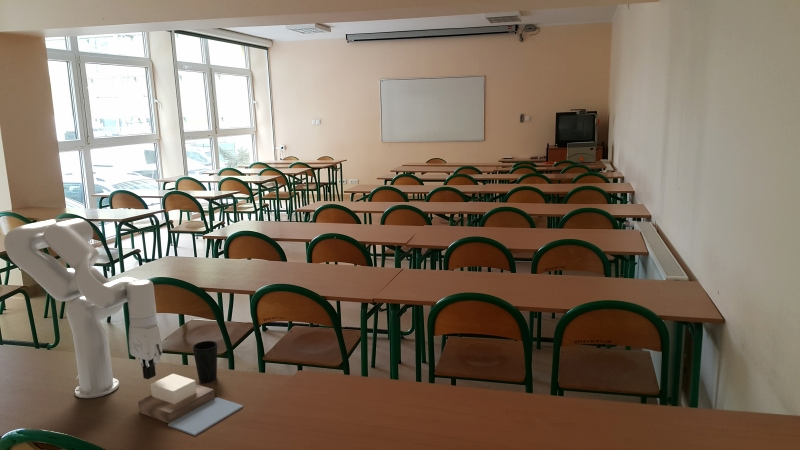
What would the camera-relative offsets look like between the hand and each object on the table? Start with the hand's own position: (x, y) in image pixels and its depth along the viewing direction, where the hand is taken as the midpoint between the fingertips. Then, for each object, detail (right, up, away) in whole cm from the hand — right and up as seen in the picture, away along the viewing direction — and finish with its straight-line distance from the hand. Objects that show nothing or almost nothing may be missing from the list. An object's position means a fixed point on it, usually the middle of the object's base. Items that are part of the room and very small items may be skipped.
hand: (149, 377), depth 178 cm
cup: (+14, -4, +13) cm, 19 cm away
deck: (+10, -7, -5) cm, 14 cm away
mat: (+21, -8, -11) cm, 25 cm away
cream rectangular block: (+9, -4, -5) cm, 11 cm away
